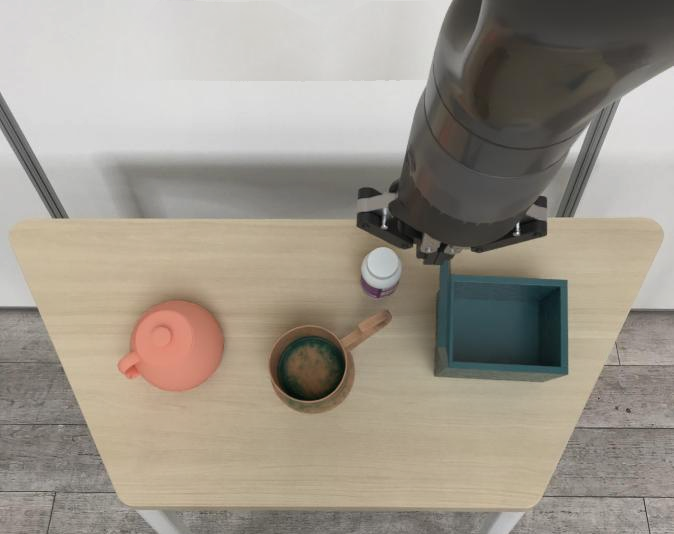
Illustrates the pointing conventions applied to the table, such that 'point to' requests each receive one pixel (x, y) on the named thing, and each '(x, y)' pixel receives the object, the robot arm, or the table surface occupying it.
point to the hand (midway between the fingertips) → (432, 253)
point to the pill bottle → (380, 273)
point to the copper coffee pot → (317, 364)
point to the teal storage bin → (506, 329)
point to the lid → (444, 313)
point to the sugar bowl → (174, 346)
